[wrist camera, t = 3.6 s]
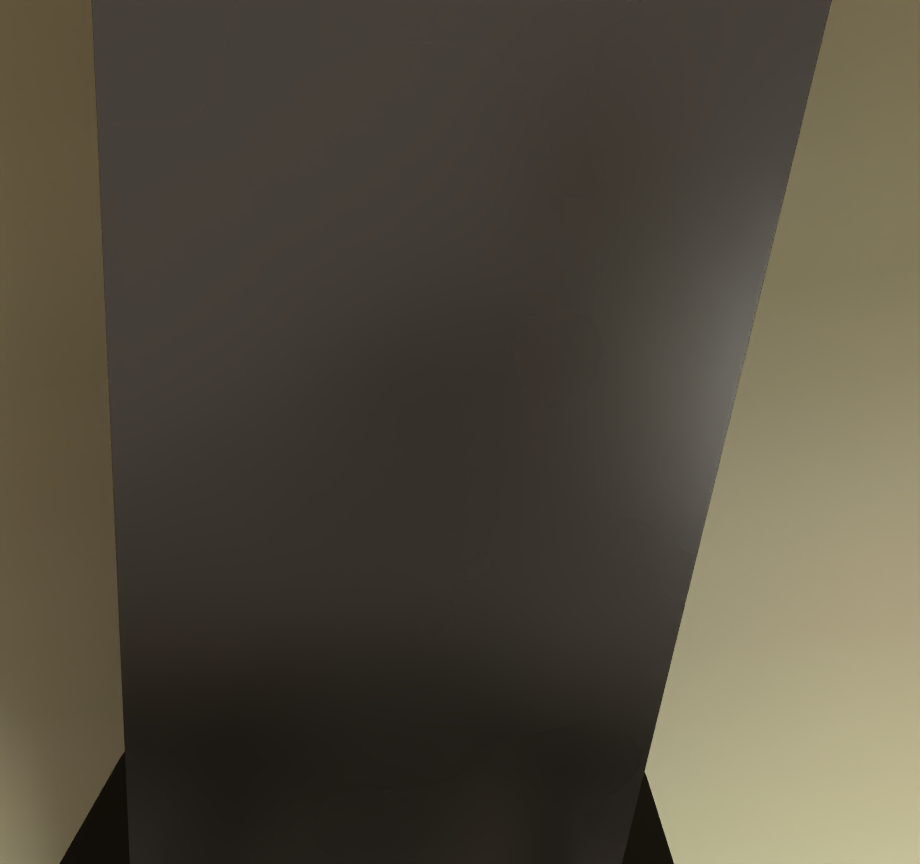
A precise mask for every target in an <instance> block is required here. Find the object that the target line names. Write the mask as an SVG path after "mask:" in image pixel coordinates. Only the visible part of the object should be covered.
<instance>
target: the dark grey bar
mask: <svg viewBox="0 0 920 864" xmlns="http://www.w3.org/2000/svg"><path fill="white" fill-rule="evenodd" d="M831 1H832V0H92V17H93V39H94V62H95V85H96V107H97V130H98V153H99V175H100V198H101V220H102V243H103V266H104V288H105V311H106V334H107V356H108V379H109V402H110V424H111V447H112V470H113V492H114V515H115V538H116V560H117V583H118V606H119V628H120V651H121V674H122V697H123V719H124V742H125V764H126V787H127V810H128V832H129V855H130V864H622V861H623V857H624V853H625V849H626V845H627V841H628V837H629V832H630V828H631V824H632V820H633V816H634V812H635V808H636V804H637V800H638V795H639V791H640V787H641V783H642V779H643V775H644V771H645V767H646V762H647V758H648V754H649V750H650V746H651V742H652V738H653V734H654V730H655V725H656V721H657V717H658V713H659V709H660V705H661V701H662V697H663V692H664V688H665V684H666V680H667V676H668V672H669V668H670V664H671V660H672V655H673V651H674V647H675V643H676V639H677V635H678V631H679V627H680V623H681V618H682V614H683V610H684V606H685V602H686V598H687V594H688V590H689V585H690V581H691V577H692V573H693V569H694V565H695V561H696V557H697V553H698V548H699V544H700V540H701V536H702V532H703V528H704V524H705V520H706V515H707V511H708V507H709V503H710V499H711V495H712V491H713V487H714V483H715V478H716V474H717V470H718V466H719V462H720V458H721V454H722V450H723V446H724V441H725V437H726V433H727V429H728V425H729V421H730V417H731V413H732V408H733V404H734V400H735V396H736V392H737V388H738V384H739V380H740V376H741V371H742V367H743V363H744V359H745V355H746V351H747V347H748V343H749V338H750V334H751V330H752V326H753V322H754V318H755V314H756V310H757V306H758V301H759V297H760V293H761V289H762V285H763V281H764V277H765V273H766V268H767V264H768V260H769V256H770V252H771V248H772V244H773V240H774V236H775V231H776V227H777V223H778V219H779V215H780V211H781V207H782V203H783V199H784V194H785V190H786V186H787V182H788V178H789V174H790V170H791V166H792V161H793V157H794V153H795V149H796V145H797V141H798V137H799V133H800V129H801V124H802V120H803V116H804V112H805V108H806V104H807V100H808V96H809V91H810V87H811V83H812V79H813V75H814V71H815V67H816V63H817V59H818V54H819V50H820V46H821V42H822V38H823V34H824V30H825V26H826V21H827V17H828V13H829V9H830V5H831Z"/></svg>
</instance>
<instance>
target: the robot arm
mask: <svg viewBox="0 0 920 864" xmlns="http://www.w3.org/2000/svg"><path fill="white" fill-rule="evenodd" d="M60 864H130V855H129V832H128V810H127V787H126V764H125V752H124V753H123V755H122V756H121V758H120V759H119V761H118V763H117V765H116V766H115V768H114V770H113V772H112V773H111V775H110V777H109V779H108V780H107V782H106V784H105V786H104V787H103V789H102V791H101V793H100V794H99V796H98V798H97V800H96V801H95V803H94V805H93V807H92V808H91V810H90V812H89V814H88V815H87V817H86V819H85V820H84V822H83V824H82V826H81V827H80V829H79V831H78V833H77V834H76V836H75V838H74V840H73V841H72V843H71V845H70V847H69V848H68V850H67V852H66V854H65V855H64V857H63V859H62V861H61V862H60ZM622 864H674V863H673V859H672V856H671V853H670V850H669V847H668V844H667V840H666V837H665V834H664V831H663V828H662V824H661V821H660V818H659V815H658V812H657V808H656V805H655V802H654V799H653V796H652V793H651V789H650V786H649V783H648V780H647V777H646V774H645V772H644V775H643V779H642V783H641V787H640V791H639V795H638V800H637V804H636V808H635V812H634V816H633V820H632V824H631V828H630V832H629V837H628V841H627V845H626V849H625V853H624V857H623V861H622Z"/></svg>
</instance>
